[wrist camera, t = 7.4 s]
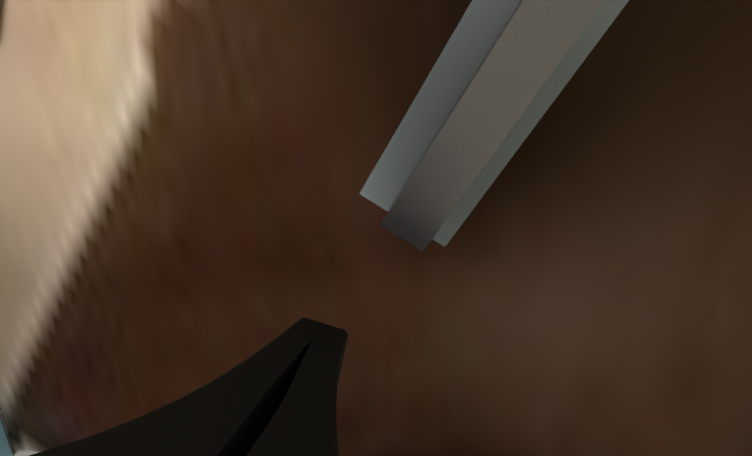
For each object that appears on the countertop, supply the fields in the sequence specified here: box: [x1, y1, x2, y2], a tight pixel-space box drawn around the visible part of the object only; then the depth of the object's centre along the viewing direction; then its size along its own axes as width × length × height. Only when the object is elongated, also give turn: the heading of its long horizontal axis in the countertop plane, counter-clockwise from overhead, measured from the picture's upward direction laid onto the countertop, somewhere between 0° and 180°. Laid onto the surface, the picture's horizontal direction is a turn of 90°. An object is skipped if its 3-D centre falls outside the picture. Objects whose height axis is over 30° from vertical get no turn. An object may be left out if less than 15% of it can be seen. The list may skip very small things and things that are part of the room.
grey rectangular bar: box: [380, 0, 603, 252], centre depth 8 cm, size 1×5×2 cm, turn 150°
